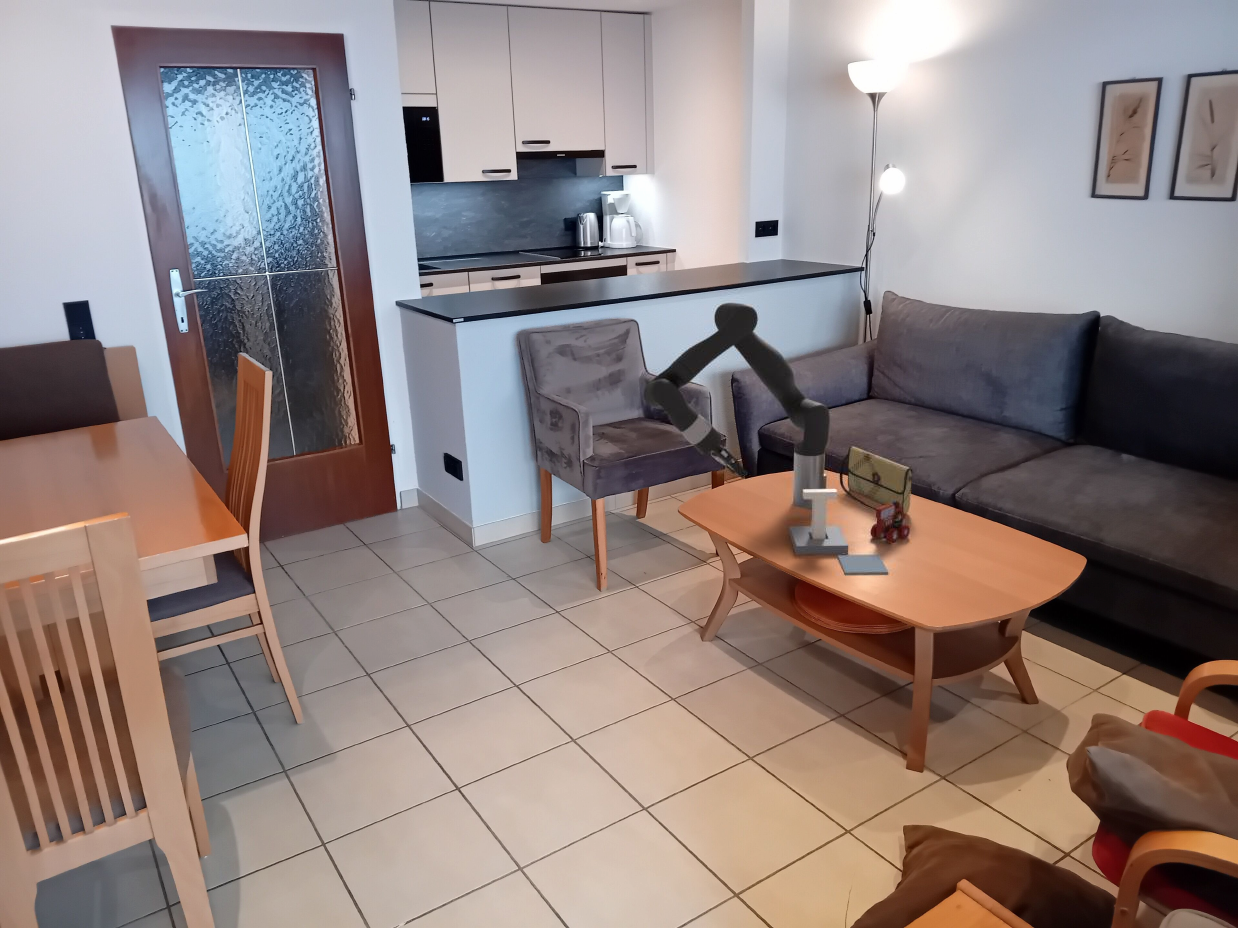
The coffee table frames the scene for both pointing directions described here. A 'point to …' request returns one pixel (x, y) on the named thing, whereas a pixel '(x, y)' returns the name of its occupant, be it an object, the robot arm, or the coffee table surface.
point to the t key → (819, 509)
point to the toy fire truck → (890, 523)
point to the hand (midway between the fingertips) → (740, 473)
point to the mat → (862, 564)
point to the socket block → (818, 541)
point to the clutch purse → (877, 478)
